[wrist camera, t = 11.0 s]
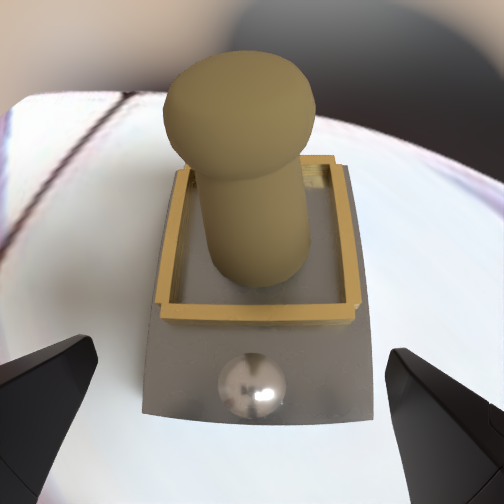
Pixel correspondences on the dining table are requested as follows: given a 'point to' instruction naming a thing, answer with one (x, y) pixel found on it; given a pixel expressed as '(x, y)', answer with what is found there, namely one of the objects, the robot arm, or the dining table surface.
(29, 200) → the dining table surface
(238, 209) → the cork
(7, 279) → the dining table surface
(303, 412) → the grey base with knob
